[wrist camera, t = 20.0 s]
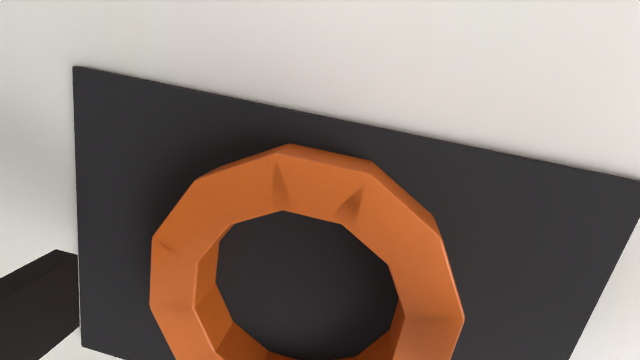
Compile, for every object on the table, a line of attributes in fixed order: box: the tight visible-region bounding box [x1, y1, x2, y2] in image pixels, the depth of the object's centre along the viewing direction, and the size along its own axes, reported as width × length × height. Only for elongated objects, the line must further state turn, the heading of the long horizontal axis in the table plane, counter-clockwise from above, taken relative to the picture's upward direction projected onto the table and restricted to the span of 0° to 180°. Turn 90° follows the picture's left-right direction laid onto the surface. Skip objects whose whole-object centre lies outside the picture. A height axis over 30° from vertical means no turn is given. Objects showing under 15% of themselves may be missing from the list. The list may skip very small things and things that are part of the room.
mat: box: [72, 66, 640, 360], centre depth 14 cm, size 20×13×1 cm, turn 80°
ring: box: [149, 143, 465, 360], centre depth 13 cm, size 11×11×2 cm
